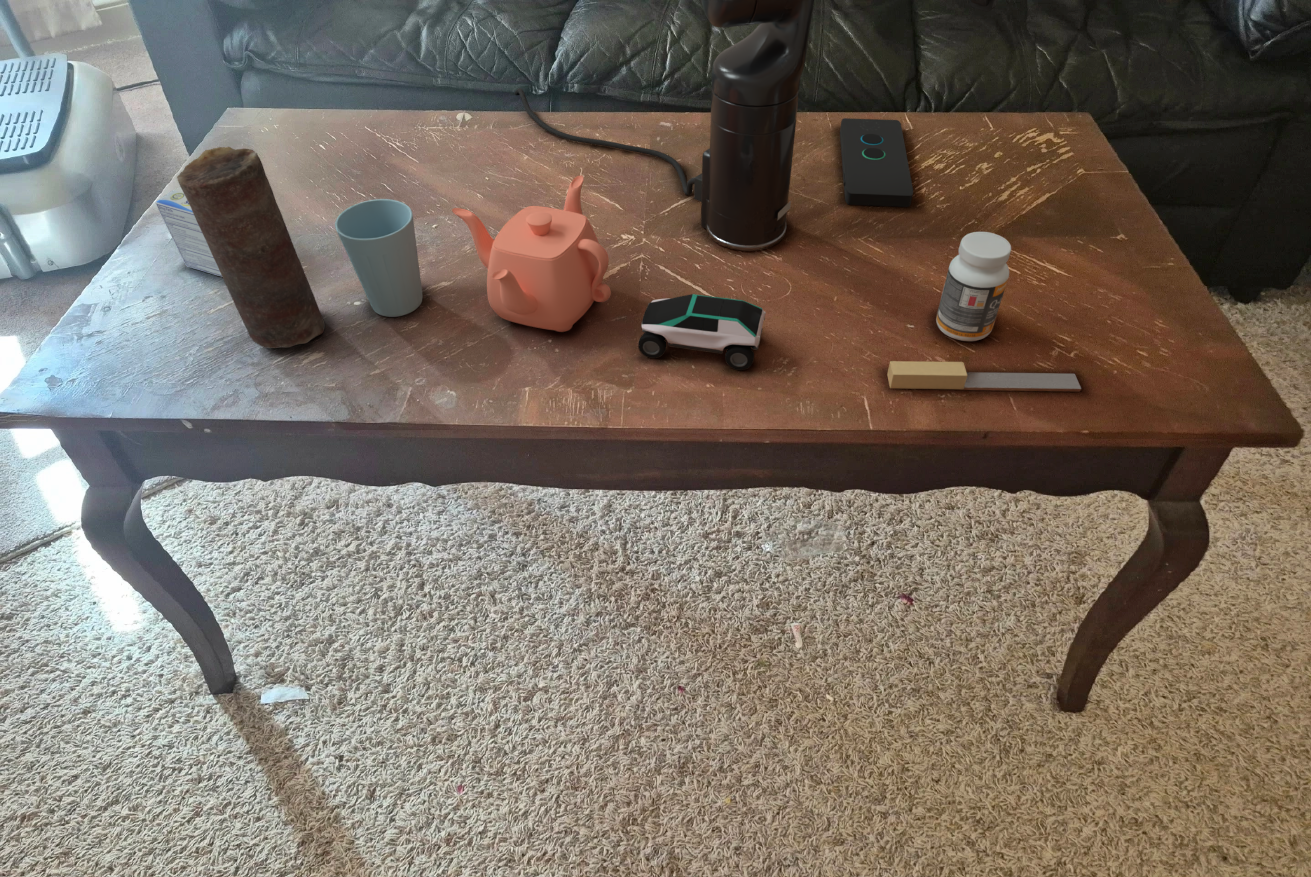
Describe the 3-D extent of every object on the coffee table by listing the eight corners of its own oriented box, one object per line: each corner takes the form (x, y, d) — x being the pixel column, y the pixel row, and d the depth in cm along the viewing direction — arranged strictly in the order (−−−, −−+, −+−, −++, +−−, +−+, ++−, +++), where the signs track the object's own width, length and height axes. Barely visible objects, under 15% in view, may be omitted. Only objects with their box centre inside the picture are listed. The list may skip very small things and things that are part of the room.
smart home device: (901, 118, 120) (915, 194, 106) (899, 130, 121) (912, 207, 107) (840, 116, 121) (846, 192, 107) (838, 128, 122) (844, 204, 108)
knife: (890, 389, 85) (893, 375, 83) (886, 374, 86) (890, 360, 85) (1080, 391, 84) (1086, 377, 83) (1073, 376, 85) (1079, 362, 84)
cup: (403, 331, 92) (378, 246, 85) (346, 312, 95) (318, 228, 87) (446, 292, 97) (427, 208, 90) (391, 275, 100) (368, 192, 92)
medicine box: (264, 263, 102) (237, 196, 95) (237, 284, 99) (207, 216, 93) (213, 247, 104) (184, 181, 98) (185, 268, 101) (152, 200, 95)
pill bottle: (993, 346, 89) (1020, 264, 82) (934, 340, 90) (956, 258, 83) (989, 312, 93) (1015, 231, 86) (934, 306, 94) (954, 225, 86)
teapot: (509, 364, 88) (492, 273, 80) (468, 289, 97) (449, 201, 90) (640, 324, 92) (635, 233, 85) (588, 255, 102) (580, 168, 94)
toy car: (755, 373, 87) (759, 330, 83) (637, 357, 89) (636, 314, 85) (764, 336, 91) (768, 294, 87) (651, 321, 93) (650, 279, 89)
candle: (284, 367, 89) (208, 188, 74) (236, 343, 91) (153, 166, 77) (340, 326, 93) (278, 150, 79) (292, 304, 96) (224, 131, 82)
